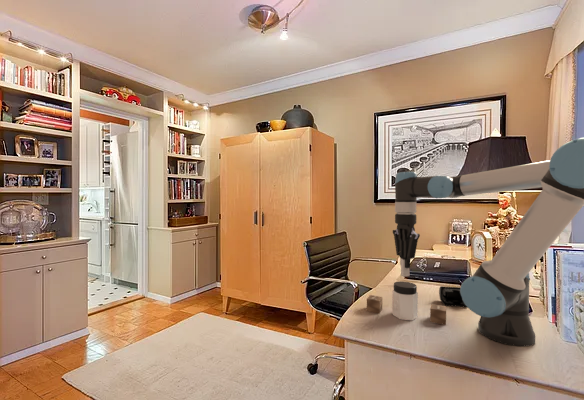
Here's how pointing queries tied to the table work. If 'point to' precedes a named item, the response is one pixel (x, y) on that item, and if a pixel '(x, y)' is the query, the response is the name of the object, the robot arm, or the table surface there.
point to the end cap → (451, 296)
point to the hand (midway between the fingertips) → (405, 275)
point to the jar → (405, 300)
